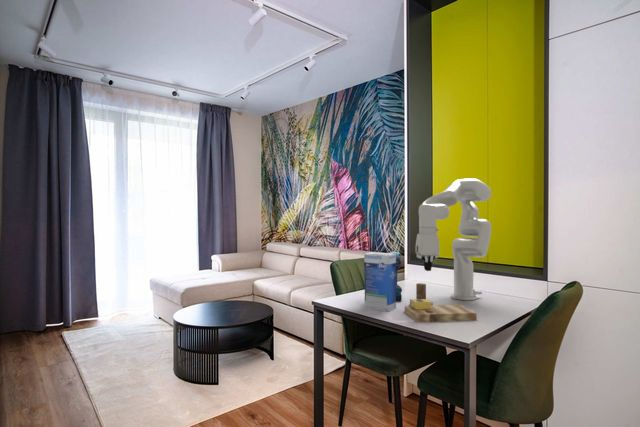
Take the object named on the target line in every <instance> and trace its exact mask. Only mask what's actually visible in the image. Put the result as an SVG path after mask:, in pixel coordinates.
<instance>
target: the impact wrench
mask: <svg viewBox="0 0 640 427" xmlns="http://www.w3.org/2000/svg"><path fill="white" fill-rule="evenodd" d="M388 253H391V254H396V303H397V302H402V299H403V298H402V297H403V296H402V292H403V289H402V287H401V285H399V284H398V271H399V269H400V267H401V265H402V261H403V257H402V254H401V253H400V252H398V251H397V250H391V251H388Z"/></svg>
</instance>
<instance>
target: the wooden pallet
mask: <svg viewBox="0 0 640 427" xmlns="http://www.w3.org/2000/svg"><path fill="white" fill-rule="evenodd" d="M404 313H406V314H407V315H408V316H409V317H411V318H412V319H413V320H414V321H415V323H429V322H430V323H436V322H437V323H438V322H462V321H477V318H478V317H477V315H478V314H477V313H478V312H475V311H473V310H472V309H470V308H467V307H465V306H464V305H461V304H433V305H431V309H415V308H413V307H412V306H411V305H404Z"/></svg>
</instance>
